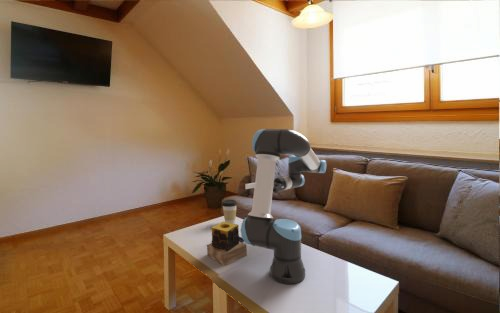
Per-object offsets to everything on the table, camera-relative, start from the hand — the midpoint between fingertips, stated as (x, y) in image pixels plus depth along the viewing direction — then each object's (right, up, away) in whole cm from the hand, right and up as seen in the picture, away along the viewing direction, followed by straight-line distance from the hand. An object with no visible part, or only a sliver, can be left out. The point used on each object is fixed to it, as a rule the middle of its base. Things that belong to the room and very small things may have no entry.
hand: (252, 189), depth 145 cm
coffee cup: (-14, -27, +32) cm, 44 cm away
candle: (-13, -27, -11) cm, 32 cm away
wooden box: (-13, -33, -9) cm, 36 cm away
